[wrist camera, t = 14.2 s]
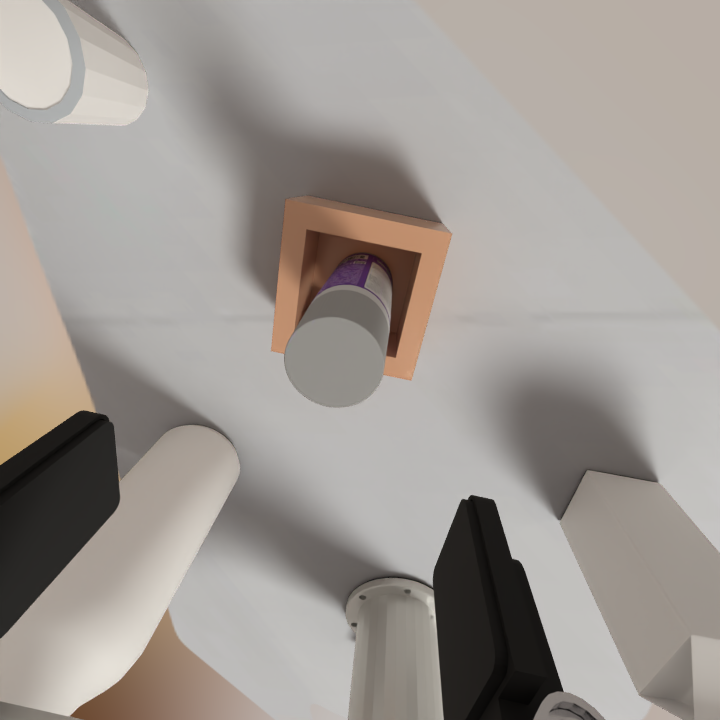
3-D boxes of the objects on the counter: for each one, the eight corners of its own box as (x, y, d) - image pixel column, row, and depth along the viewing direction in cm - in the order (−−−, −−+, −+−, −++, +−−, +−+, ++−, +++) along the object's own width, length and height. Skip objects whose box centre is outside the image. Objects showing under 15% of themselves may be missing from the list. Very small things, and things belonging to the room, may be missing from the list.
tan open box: (409, 348, 34) (411, 380, 28) (292, 323, 34) (271, 351, 28) (442, 223, 29) (452, 233, 24) (306, 195, 29) (285, 198, 24)
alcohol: (237, 422, 39) (-145, 987, 12) (248, 490, 42) (-22, 1038, 15) (153, 418, 40) (-386, 937, 12) (171, 485, 43) (-214, 997, 16)
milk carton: (585, 468, 37) (743, 717, 20) (660, 482, 37) (885, 744, 20) (558, 521, 40) (674, 777, 23) (626, 534, 40) (796, 801, 23)
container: (327, 301, 32) (272, 394, 18) (341, 244, 29) (292, 299, 16) (382, 318, 32) (370, 421, 18) (400, 262, 30) (401, 331, 16)
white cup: (170, 127, 28) (104, 112, 22) (86, 142, 29) (0, 132, 23) (135, 7, 25) (47, -51, 19) (44, 28, 26) (-68, -19, 20)
